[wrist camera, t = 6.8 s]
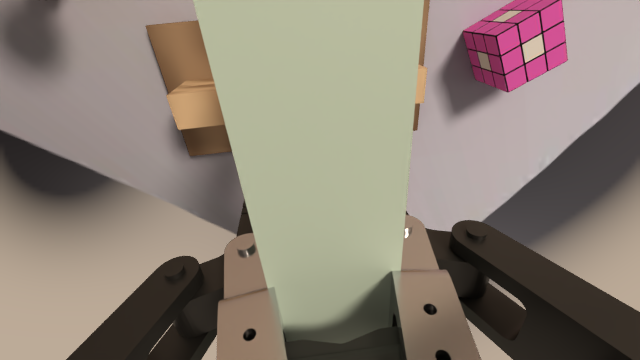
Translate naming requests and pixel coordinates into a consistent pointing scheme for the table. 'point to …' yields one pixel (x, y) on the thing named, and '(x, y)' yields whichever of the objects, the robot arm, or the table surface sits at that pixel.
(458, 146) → the table surface
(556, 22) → the puzzle toy
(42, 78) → the table surface
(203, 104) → the oak slotted rail
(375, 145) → the sage slotted plate
